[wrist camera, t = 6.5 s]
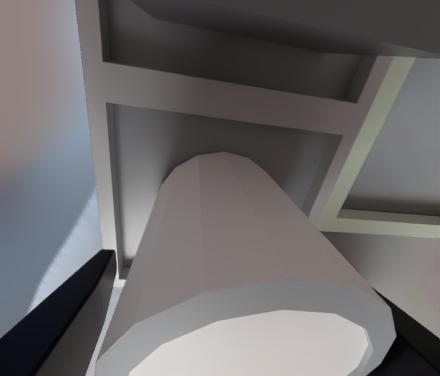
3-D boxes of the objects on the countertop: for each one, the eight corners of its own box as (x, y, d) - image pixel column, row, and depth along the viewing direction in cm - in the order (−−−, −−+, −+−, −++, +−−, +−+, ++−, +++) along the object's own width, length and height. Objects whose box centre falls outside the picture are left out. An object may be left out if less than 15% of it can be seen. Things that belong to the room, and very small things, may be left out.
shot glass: (122, 236, 12) (55, 439, 6) (180, 106, 9) (169, 233, 3) (240, 269, 14) (282, 437, 8) (315, 175, 11) (464, 324, 5)
